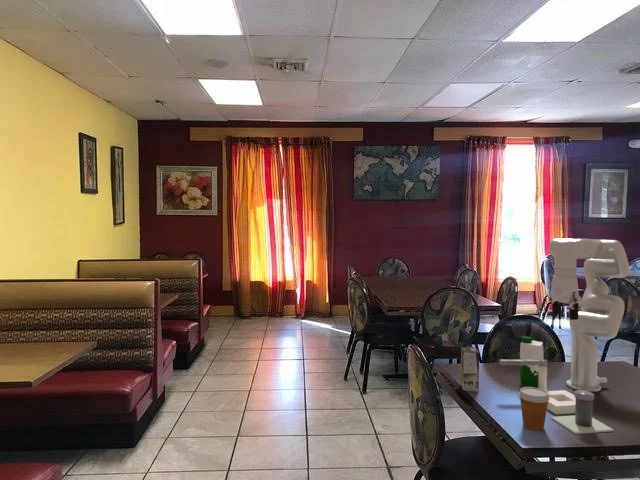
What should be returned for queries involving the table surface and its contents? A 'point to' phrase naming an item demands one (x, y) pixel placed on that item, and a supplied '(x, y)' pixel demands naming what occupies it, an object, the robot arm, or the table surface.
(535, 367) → the milk carton
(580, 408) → the plug
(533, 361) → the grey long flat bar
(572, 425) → the rubber mat
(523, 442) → the table surface
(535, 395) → the disposable coffee cup
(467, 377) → the coffee box
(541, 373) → the socket base
